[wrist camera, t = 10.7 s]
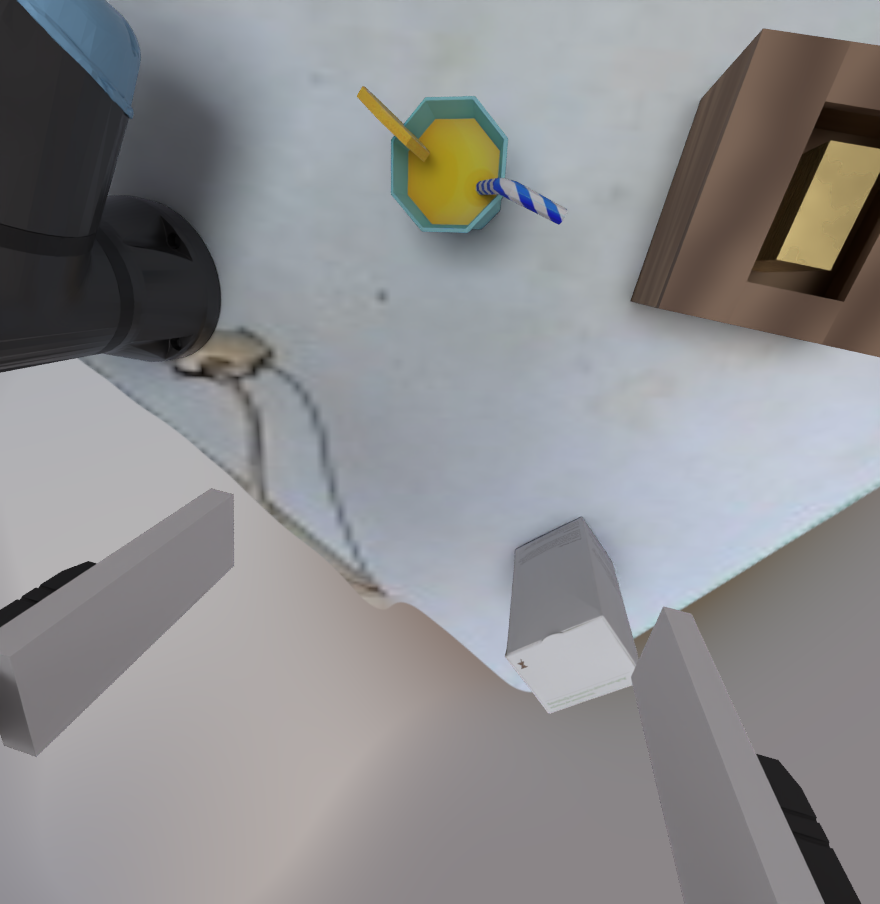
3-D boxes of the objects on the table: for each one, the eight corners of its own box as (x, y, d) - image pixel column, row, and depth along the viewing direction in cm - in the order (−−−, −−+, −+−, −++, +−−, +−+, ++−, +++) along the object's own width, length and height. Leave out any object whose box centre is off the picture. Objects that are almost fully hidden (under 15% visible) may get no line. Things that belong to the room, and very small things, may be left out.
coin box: (630, 301, 38) (658, 308, 29) (701, 99, 33) (763, 28, 23) (807, 340, 36) (897, 361, 27) (912, 134, 31) (1068, 73, 22)
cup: (582, 189, 36) (607, 133, 22) (533, 284, 39) (528, 287, 25) (424, 110, 36) (352, 8, 23) (388, 211, 39) (306, 175, 26)
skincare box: (544, 592, 49) (545, 719, 35) (511, 545, 48) (498, 657, 34) (616, 561, 46) (649, 687, 32) (583, 510, 45) (602, 617, 31)
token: (721, 263, 35) (776, 259, 27) (757, 175, 33) (830, 140, 25) (762, 272, 35) (830, 270, 26) (801, 183, 32) (890, 150, 24)
